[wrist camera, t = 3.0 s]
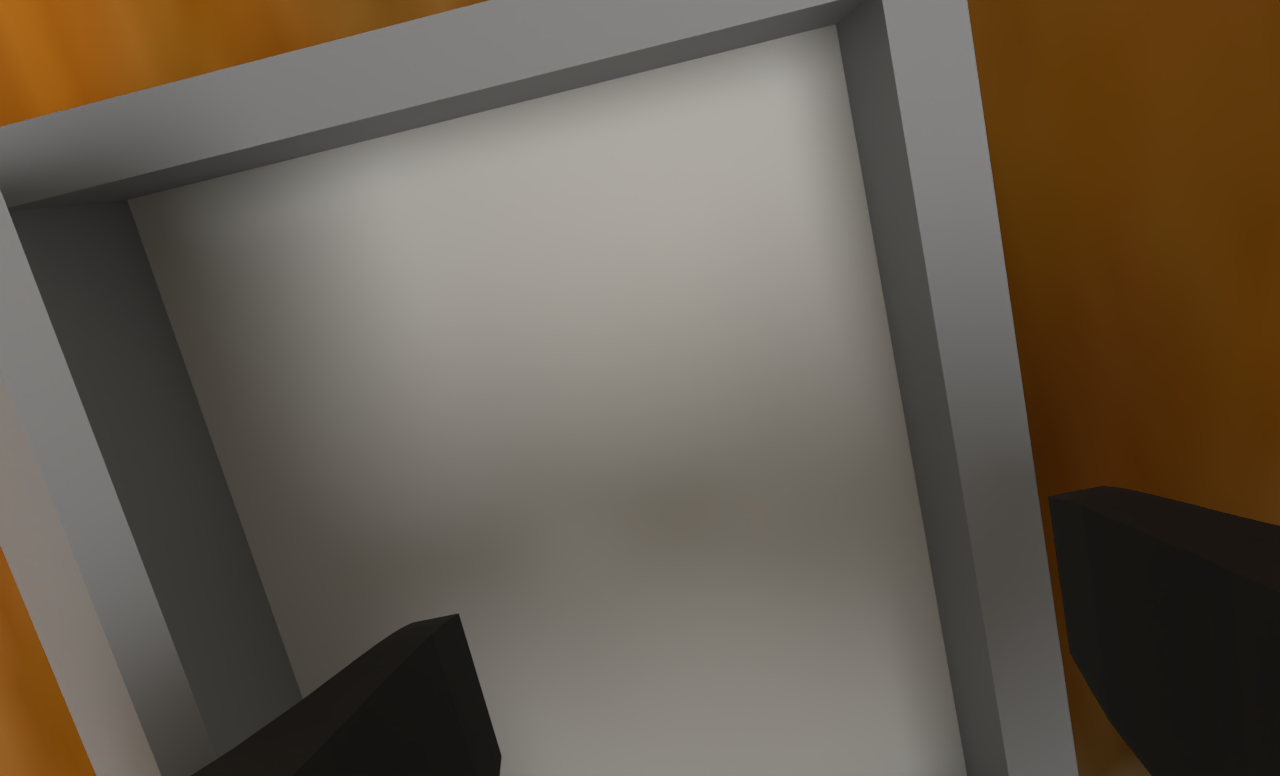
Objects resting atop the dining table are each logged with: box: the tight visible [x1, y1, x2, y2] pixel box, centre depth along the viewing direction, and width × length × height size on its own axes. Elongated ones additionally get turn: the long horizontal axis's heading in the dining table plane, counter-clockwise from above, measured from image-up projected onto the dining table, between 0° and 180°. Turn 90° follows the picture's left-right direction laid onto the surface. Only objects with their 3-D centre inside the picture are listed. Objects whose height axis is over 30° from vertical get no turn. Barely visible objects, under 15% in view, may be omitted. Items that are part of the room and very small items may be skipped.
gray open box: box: [0, 0, 1079, 776], centre depth 16 cm, size 14×16×4 cm
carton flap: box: [0, 190, 217, 776], centre depth 12 cm, size 6×15×1 cm
